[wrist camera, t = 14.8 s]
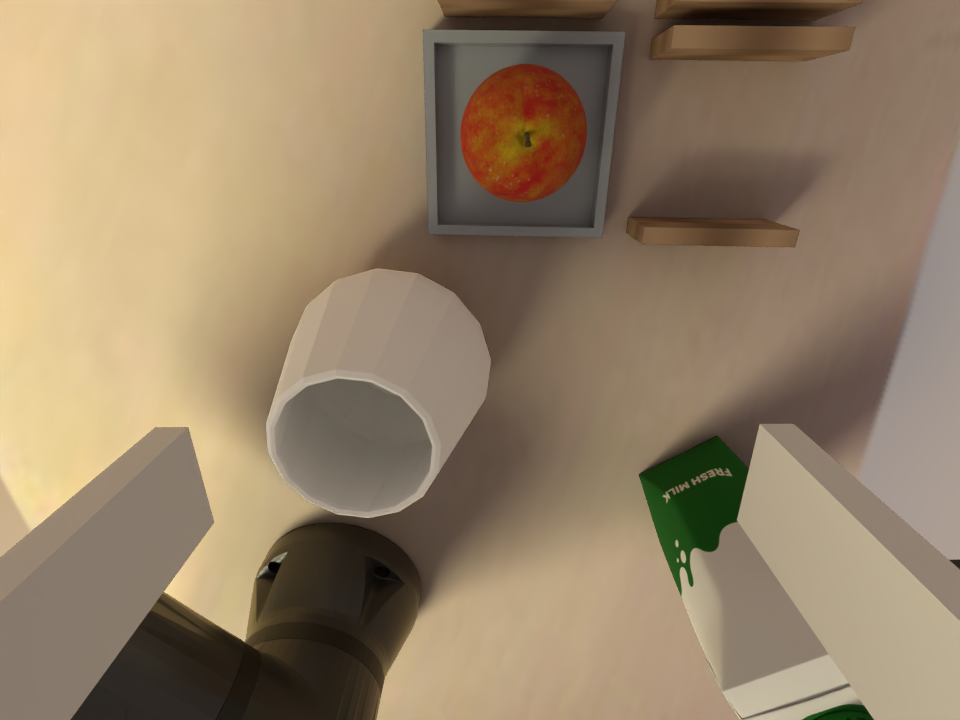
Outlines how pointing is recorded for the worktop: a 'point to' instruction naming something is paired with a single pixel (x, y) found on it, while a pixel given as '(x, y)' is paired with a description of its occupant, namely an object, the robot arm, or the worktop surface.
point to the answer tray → (448, 87)
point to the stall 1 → (527, 8)
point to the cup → (376, 392)
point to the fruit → (523, 133)
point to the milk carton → (740, 595)
